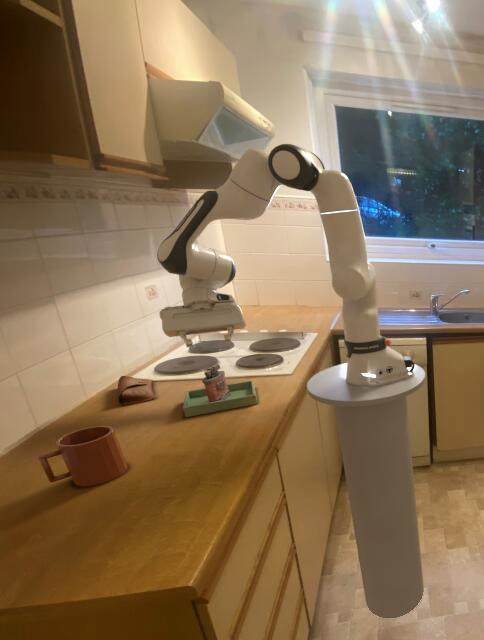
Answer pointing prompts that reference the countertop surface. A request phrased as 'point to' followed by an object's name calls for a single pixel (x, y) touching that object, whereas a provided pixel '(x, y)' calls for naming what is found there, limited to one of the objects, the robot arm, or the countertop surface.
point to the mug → (88, 456)
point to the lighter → (215, 384)
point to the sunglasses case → (134, 390)
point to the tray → (238, 397)
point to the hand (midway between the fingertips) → (209, 343)
